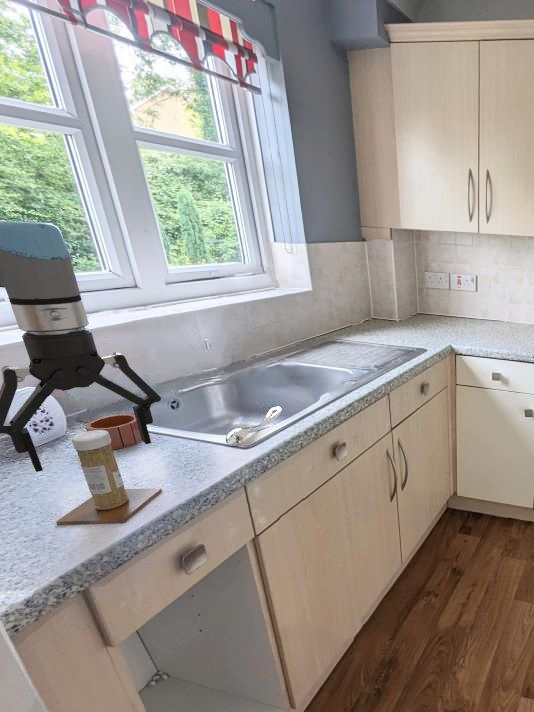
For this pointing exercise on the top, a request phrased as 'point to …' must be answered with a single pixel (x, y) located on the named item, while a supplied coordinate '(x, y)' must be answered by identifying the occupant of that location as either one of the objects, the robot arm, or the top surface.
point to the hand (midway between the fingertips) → (96, 454)
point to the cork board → (120, 514)
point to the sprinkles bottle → (100, 469)
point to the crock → (118, 429)
